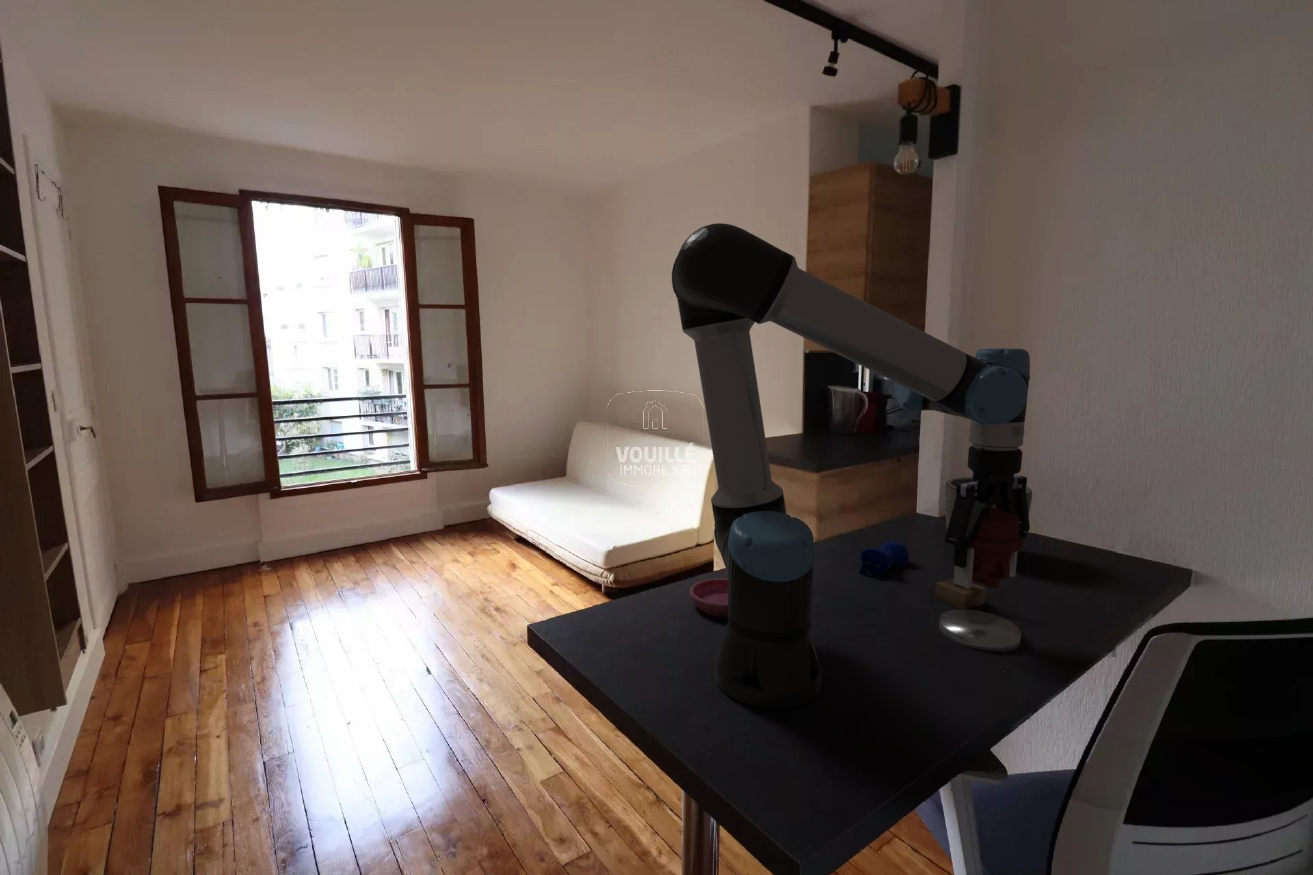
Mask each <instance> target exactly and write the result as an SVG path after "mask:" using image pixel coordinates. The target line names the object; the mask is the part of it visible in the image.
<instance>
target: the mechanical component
mask: <svg viewBox="0 0 1313 875" xmlns="http://www.w3.org/2000/svg"><path fill="white" fill-rule="evenodd" d="M1019 520H1020V519H1019V517H1018V516H1016V515H1014V514H1010V513H1006V512H1003V509H1002V508H999V507H995V506H992V507H991V509H990V510H989V511H987V512H986V513H985V515H984V518H983V519H981V520H980V526H979V529H978V531H977V533H976V535H975V538H974V540H973V542H972V544H971V548H974V560H973V573H972V582H976V583H979V584H982V585H984V586H986V587H988V588H990V589H993V590H995V589H999V588H1000V581H1002V580H1006V579H1007V578H1009V577H1011V576H1010V559H1011V555H1012V552H1016V551H1018V552H1019V551H1020V550H1022V549H1023V548H1024V542H1025V539H1024V538H1023V537H1022V536H1021V535H1020V534H1019V533H1018V531H1019ZM964 540H965V539H964Z"/></svg>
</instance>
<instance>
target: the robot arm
mask: <svg viewBox="0 0 1313 875" xmlns="http://www.w3.org/2000/svg"><path fill="white" fill-rule="evenodd" d="M671 284H672V285H671V286H672V289H673V293H674V294H675V297H676V299H677V306H678V312H679V317H680V322H681V328H682V332H683V334H685V335H687V336H688V337H689V338H691V339H692V340H693V342H694V346H695V347H694V348H695V353H696V358H697V359H696V360H697V366H698V370H699V379H700V385H701V389H702V391H701V392H702V396H703V401H704V402H703V403H704V407H705V414H706V421H707V425H708V432H709V438H710V444H711V451H712V457H713V462H714V463H713V464H714V468H715V469H714V470H715V475H716V481H717V487H718V488H717V489H716V491H715V493H714V494H713V495H712V497H711V498H710V502H711V507H712V515H713V520H714V524H713V525H714V529H713V534H714V540H715V545H716V547H717V549H718V551H719V553H720V556H721V558H722V562H723V564H724V567H725V569H726V572H727V579H728V617H727V625H726V629H725V632H724V634H723V636H722V637H723V638H722V639H721V641H720V645H719V648H718V650H717V653H716V654H715V655H716V656H715V659H714V679H715V683H716V685H717V686H718V688H719V689H720V690H721V691H722V692H723V693H725V694H726V695H727V696H729V697H730V698H732V699H734V700H736V701H738V702H740V703H742V704H744V705H748V706H752V707H755V708H762V709H768V710H770V709H771V710H784V709H792V708H797V707H800V706H803V705H804V706H805V705H806V704H808V703H810V702H811V701H813V700H814V699H816V697H817V696H818V695H819V693H820V691H821V688H822V668H821V664H820V661H819V656H818V654H817V651H816V646H815V644H814V640H813V637H812V634H811V628H812V626H811V624H812V602H813V583H814V582H813V581H814V563H815V559H816V547H815V542H814V540H815V539H814V538H815V537H814V534H813V532H812V529H811V528H810V526H809V525H808V524H807V523H806V522H804V520H802V519H800V518H798V517H797V516H795V517H792V516H791V515H790V514H788V513H787V508H786V501H785V495H784V490H783V488H782V487H781V486H780V485H779V484H777V483H776V482H774V481H773V480H772V473H771V466H770V460H769V452H768V445H767V440H766V433H765V427H764V421H763V412H762V406H761V398H760V391H759V386H758V381H757V380H758V379H757V373H756V367H755V359H754V353H753V347H752V340H751V332H750V331H751V329H752V327H753V326H754V324H755V323H756V324H758V325H761V324H765V323H768V322H771V323H773V324H775V325H778V326H779V327H782V328H784V329H786V330H788V331H790V332H792V333H794V334H796V335H798V336H799V337H801V338H804V339H806V340H808V341H810V342H812V343H814V344H816V345H818V346H820V347H823V348H824V349H827V351H830V352H832V353H834V354H836V355H838V356H841V357H842V358H845V359H847V360H849V361H850V362H853V363H855V364H857V365H859V366H861V367H863V368H866V369H867V370H869V371H872V372H873V373H875V374H877V375H879V376H881V377H883V378H885V379H887V380H890V381H891V382H894V396H895V399H896V401H897V404H898V406H899V407H900V408H902V410H905V411H918V412H922V411H935V412H939V413H942V414H945V415H946V414H947V415H950V416H956V417H961V418H964V419H968V420H970V423H969V424H970V425H969V434H968V435H969V437H968V442H969V443H970V444H972V445H971V446H970V445H969V446H970V447H968V454H967V467H968V469H969V470H971V471H972V479H971V482H970V483H962V482H959V483H958V484H957V487H956V500H955V503H954V507H953V511H952V514H951V518H950V522H949V525H948V529H947V528H946V533H945V537H944V542H945V543H947V544H950V545H951V546H953V547H954V554H953V556H954V557H953V565H954V569H953V570H954V572H953V578H954V582H953V583H955V584H958V585H960V586H963V587H965V588H968V589H969V588H971V586H972V583H973V581H972V573H973V560H974V548H971V544H972V542H973V540H974V538H975V535H976V533H977V531H978V529H979V526H980V520H981V519H983V518H984V515H985V513H986V512H987V511H989V510H990V509H991V507H992V505H995V506H996V507H999V508H1002V509H1003V512H1006V513H1010V514H1014V515H1016V516H1018V517H1019V519H1020V520H1019V521H1020V522H1022V523H1019V531H1018V533H1019V534H1020V535H1021V536H1022V537H1023V538H1024V540H1025V539H1026V538H1027V536H1028V532H1029V531H1030V529H1031V525H1030V517H1029V516H1030V514H1029V515H1028V506H1027V497H1026V486H1027V484H1028V478H1027V476H1023V475H1018V473H1020V472H1021V470H1022V462H1023V451H1022V449H1021V448H1019V447H1022V446H1023V445H1024V434H1025V421H1026V413H1027V405H1028V404H1027V403H1028V395H1029V394H1028V393H1029V386H1030V384H1029V383H1030V380H1031V376H1030V375H1031V373H1030V371H1031V361H1030V360H1031V358H1030V357H1031V356H1030V353H1029V352H1028V350H1026V349H1024V348H980V349H978V350H977V351H976V352H975V354H974V355H975V356H973V355H971V354H968V353H966V352H963V350H960V349H958V348H957V347H954V346H952V345H951V344H949V343H947V342H945V341H943V340H941V339H939V338H937V337H935V336H932V335H931V334H929V333H927V332H925V331H923V330H921V329H919V328H917V327H915V326H913V325H912V324H909V323H907V322H905V321H903V320H901V319H899V318H897V317H895V316H893V315H891V314H889V313H888V312H885V311H884V310H882V309H881V308H877V307H876V306H874V305H872V304H870V303H868V302H866V301H865V300H862V299H860V298H858V297H856V296H855V295H852V294H851V293H848V292H847V291H844V290H842V289H840V288H838V287H836V286H834V285H832V284H831V283H828V282H827V281H825V280H823V279H821V278H819V277H817V276H815V275H813V274H811V273H809V272H807V271H805V270H803V269H801V268H799V266H798V262H797V260H796V257H795V256H794V255H792V254H790V253H788V252H786V251H785V250H782V249H780V248H778V247H776V246H775V245H773V244H771V243H769V242H768V241H766V240H764V239H762V238H761V237H760V236H757V235H755V234H753V233H751V232H749V231H748V230H745V229H744V228H741V227H740V226H736V225H734V224H729V223H722V222H717V223H711V224H707V225H705V226H704V225H703V226H702V227H699V228H698V229H697V230H694V232H692V233H690V234H689V236H687V238H686V239H685V240H684V241H683V243H682V245H681V246H680V249H679V251H678V254H677V256H676V258H675V260H674V262H673V265H672V272H671ZM976 499H977V501H978V502H979V503H978V502H975V501H976ZM953 536H954V537H953ZM964 539H965V540H964ZM1018 553H1019V551H1016V552H1012V555H1011V559H1010V576H1009V577H1012V578H1014V577H1016V574H1017V573H1016V572H1017V561H1018Z"/></svg>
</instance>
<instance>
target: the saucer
mask: <svg viewBox="0 0 1313 875" xmlns="http://www.w3.org/2000/svg"><path fill="white" fill-rule="evenodd" d="M689 598H690V599H691V600H692V602H693V603H694V605H695V606H697V608H698V609H699V610H700V611H701V612H702V613H705V614H707V615H710V616H714V617H722V618H728V578H724V577H722V578H719V577H717V578H708V579H705V580H701V581H698V582H695V583H694V584H693V585H692V586H691V587H690V589H689Z"/></svg>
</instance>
